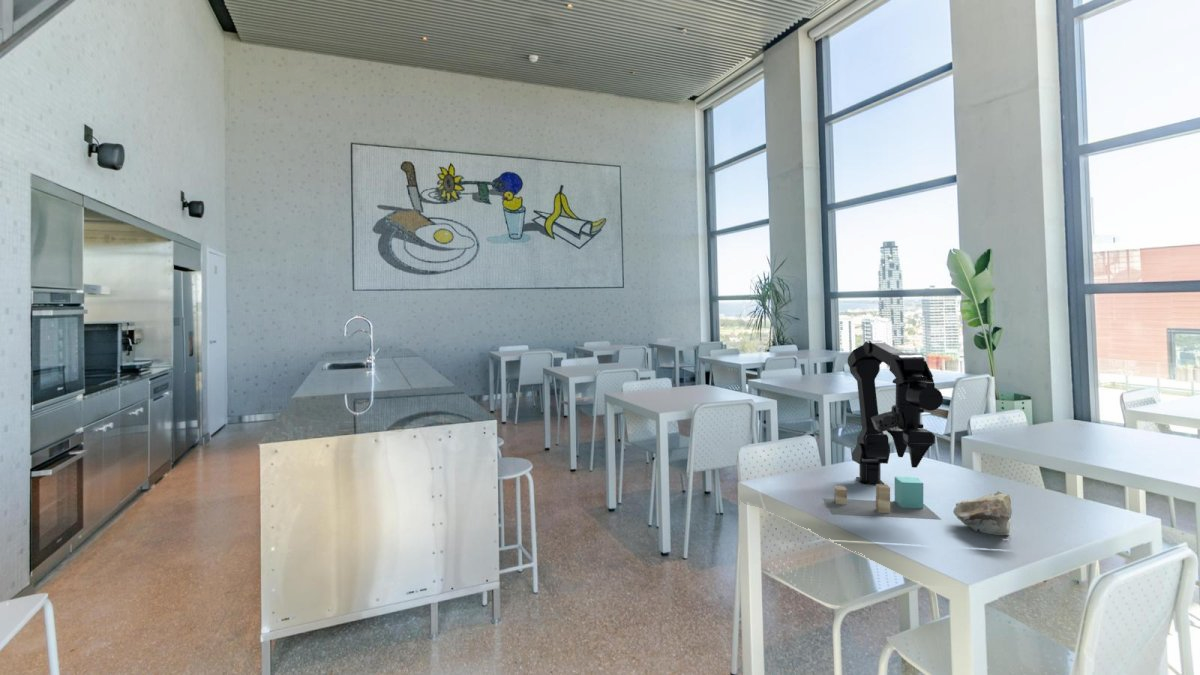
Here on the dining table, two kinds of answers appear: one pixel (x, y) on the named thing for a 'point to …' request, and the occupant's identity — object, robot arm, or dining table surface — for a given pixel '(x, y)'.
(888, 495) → the post
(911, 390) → the robot arm
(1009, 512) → the stone
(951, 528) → the dining table surface
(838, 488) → the tan block
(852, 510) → the mat
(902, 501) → the teal rectangular block
